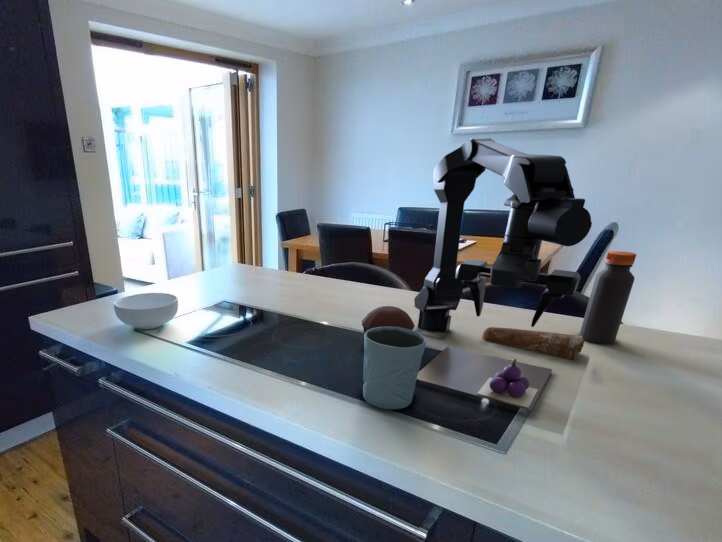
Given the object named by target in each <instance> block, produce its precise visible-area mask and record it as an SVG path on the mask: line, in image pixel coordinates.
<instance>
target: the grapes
mask: <svg viewBox="0 0 722 542" xmlns="http://www.w3.org/2000/svg"><path fill="white" fill-rule="evenodd" d="M511 361H512V365H508V366H506V367H505V368H504V369H503V372H498V373H496V374H495V376H494V378H493V379H492V380H491V381H490V384H489V385H490V388H491V390H492V391H494V392H496V393H502V392H504V391H505V390H506V389H507V392H508V394H509V395H510V396H512V397H515V398H519V397H522V396H523V395H524V394H525V392H526V389H528V387H529V381H528V379H527V378H526V377H524V376H521V370H520V369H519V368H518V367H517V366H515V365H516V362H518V361H517V359H516V358H512V360H511Z"/></svg>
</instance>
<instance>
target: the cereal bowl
mask: <svg viewBox="0 0 722 542" xmlns="http://www.w3.org/2000/svg"><path fill="white" fill-rule="evenodd" d="M113 309H114V313H115V316H116V317H117V319H118V320H119V321H120V322H121V323H123V324H124V325H127V326H131V327H133V328H135V329H137V330H153V329H158V328H160V327H162V326H163V325H164V324H166V323H168V322H170V321H172V320H173V318H175V316H176V315H177V313H178V310H179V299H178V297H177V295H175V294H172V293H165V292H145V293H137V294H131V295H127V296H123V297H120V298H118V299H116V300H115V301H114V302H113Z"/></svg>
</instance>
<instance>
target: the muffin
mask: <svg viewBox="0 0 722 542" xmlns="http://www.w3.org/2000/svg"><path fill="white" fill-rule="evenodd" d="M361 326H362V328H363V335H364V334H365V332H366V331H367V330H369V329H372V328H376V327H400V328H405V329H410V330H413V331H414V328H415V327H416V325H415V323H414V321H413V320H412V318H411V316H410V315H409V313H407V312H406V310H405V311H404V310H403V309H402V308H400V307H397V306H393V305H392V306H391V305H384V306H379V307H376V308H374V309H373V310H371V311H370V312H368V313H367V314H366V315H365V316H364V317H363V319H362V320H361Z"/></svg>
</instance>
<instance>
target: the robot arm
mask: <svg viewBox="0 0 722 542" xmlns="http://www.w3.org/2000/svg"><path fill="white" fill-rule="evenodd" d="M566 164H567V161H566V159H565V157H563V156H562V155H551V154H528V153H525V152H522V151H520V150H518V149H515V148H512V147H510V146H507V145H504V144H502V143H499V142H497V141H496V140H494V139H492V138H490V137H484V138H483V137H478V138H477V137H475V138H473V137H471V138H470V139H467V140H466V141H464V143H463V144H462V145H461V146H460V147H458V148H456V149H454V150H453V151H451V152H449V153H447V154H445V155H444V157H442V158H441V160H440V161H439V162H438V163H437V164H436V165H435V167H434V170H433V175H432V176H433V177H432V178H433V191H434V194H435V195H436V197H437V199H438V201H439V212H438V220H437V230H436V239H435V248H434V257H433V265H432V266H433V267H432V268H431V269H430V271H429V272H428V274H427V275H426V276H425V278H424V282H423V286H422V288H421V289H420V291H419V292H418V294H416V296H415V297H414V299H413V300H414V301H413V303H414V308H415V309H418V310H419V315H418V321H417V328H418V329H421V330H422V331H425V332H429V333H447V332H448V331H449V330H450V328H451V323H452V321H451V320H452V315H451V314H450V312H451V311H457V309H458V307H459V304H460V302H461V300H462V297H463V295H464V285H467V287H468V289H469V290H470V293H471V296H472V299H473V305H474V310H475V315H476V317H478V318H479V317H480V316H482V315H481V314H482V311H483V307H484V300H485V294H486V287H487V279H488V278H489V284H490V285H491V286H496V287H497V286H504V287H509V289H510V288H511V289H518V288H521V287H522V285H523V284H524V283H526V284H535V285H541V286H545V290H544V291H543V292H542V293H541V296H540V300H539V303H538V305H537V308H536V310H535V312H534V314H533V316H532V320H531V323H530V324H531V325H530V327H531V328H534V327H535V326H536V325H537V323H538V321H539V320H540V318H541V317H542V315H543V314H544V312H546V309H547V308H548V307H549V305H550V304H551V303H552V302H553V301H554V300H555V299H563V298H564V297H565V295H566V296H567V295H568V296H572V295H574V294H575V293H576V291H577V289H578V288H579V285H580V280H581V275H580V273H579V272H578V271H572V270H562V269H556V268H555V269H553V271H551V272H550V273H543V272H542V273H541V269H542V259H541V258H539V256H540V251H541V248H542V243H543V242H546V243H551V244H554V245H559V246H563V247H573V246H575V245H578V244H579V243H581V242H582V241H583V240H584V239H585V238H586V237H587V236H588V234H589V233H590V231H591V228H592V225H593V222H592V217H591V214H590V212H589V210H588V209H586V208H585V203H586V199H585V198H580V197H577V198H576V196H575V193H574V191H575V190H574V188H573V186H572V182H571V179H570V178H571V177H570V175H569V171H568V168H567V166H566ZM486 170H488V171H491V172H492V173H495V174H497V175H498V176H500V177H502V178H503V185H504V186H505V187H506V188H507V189H508V190H510V192H511V193H512V195H511V196H510V197H508V198H507V199H506V200H504V201H503V205H504V207H510V208H509V214H508V219H507V224H506V228H505V232H504V233H505V234H504V238H503V242H502V245H501V248H500V251H499V252H498V255H497V256H496V258H495V260H494V262H492V265H491V266H488V261H487V260H479V259H467V260H465V261H462V262H461V263H459V264H458V258H459V257H458V256H459V250H460V249H459V247H460V240H461V232H462V225H463V217H464V209H465V208H464V207H465V203H466V201H467V200H468V198H469V196H470V195H471V194H472V193H473V191H474V190H475V186H476V182H477V179H478V178H479V177H480V176H481V175H482V174H483V173H485V172H486Z"/></svg>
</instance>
